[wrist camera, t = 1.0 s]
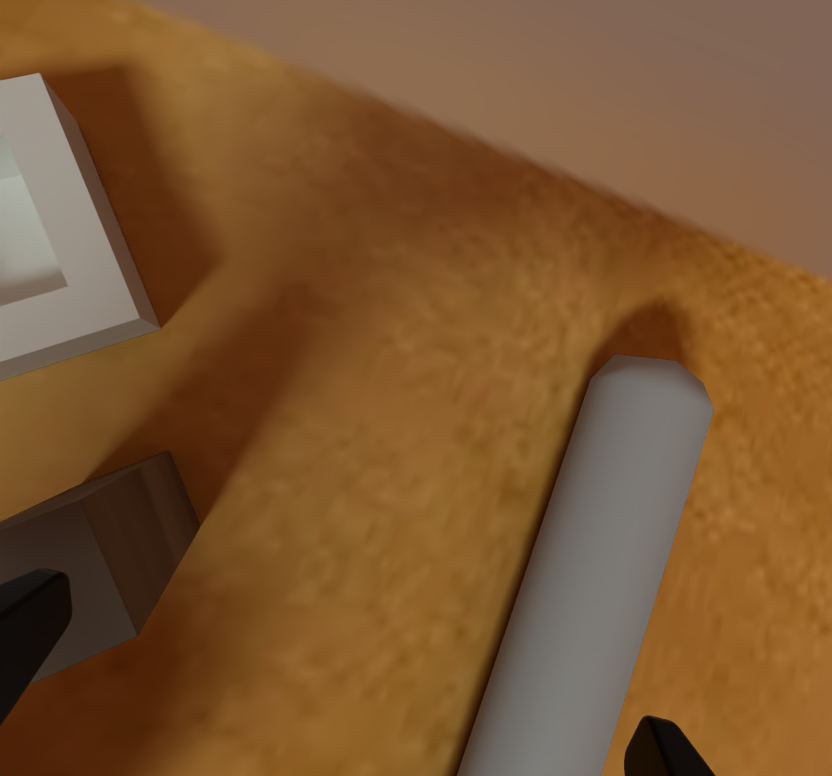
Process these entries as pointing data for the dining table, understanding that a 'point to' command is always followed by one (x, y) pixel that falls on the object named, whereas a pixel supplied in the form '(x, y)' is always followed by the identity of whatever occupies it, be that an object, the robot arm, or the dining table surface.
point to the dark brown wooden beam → (104, 552)
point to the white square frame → (58, 240)
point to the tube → (592, 574)
